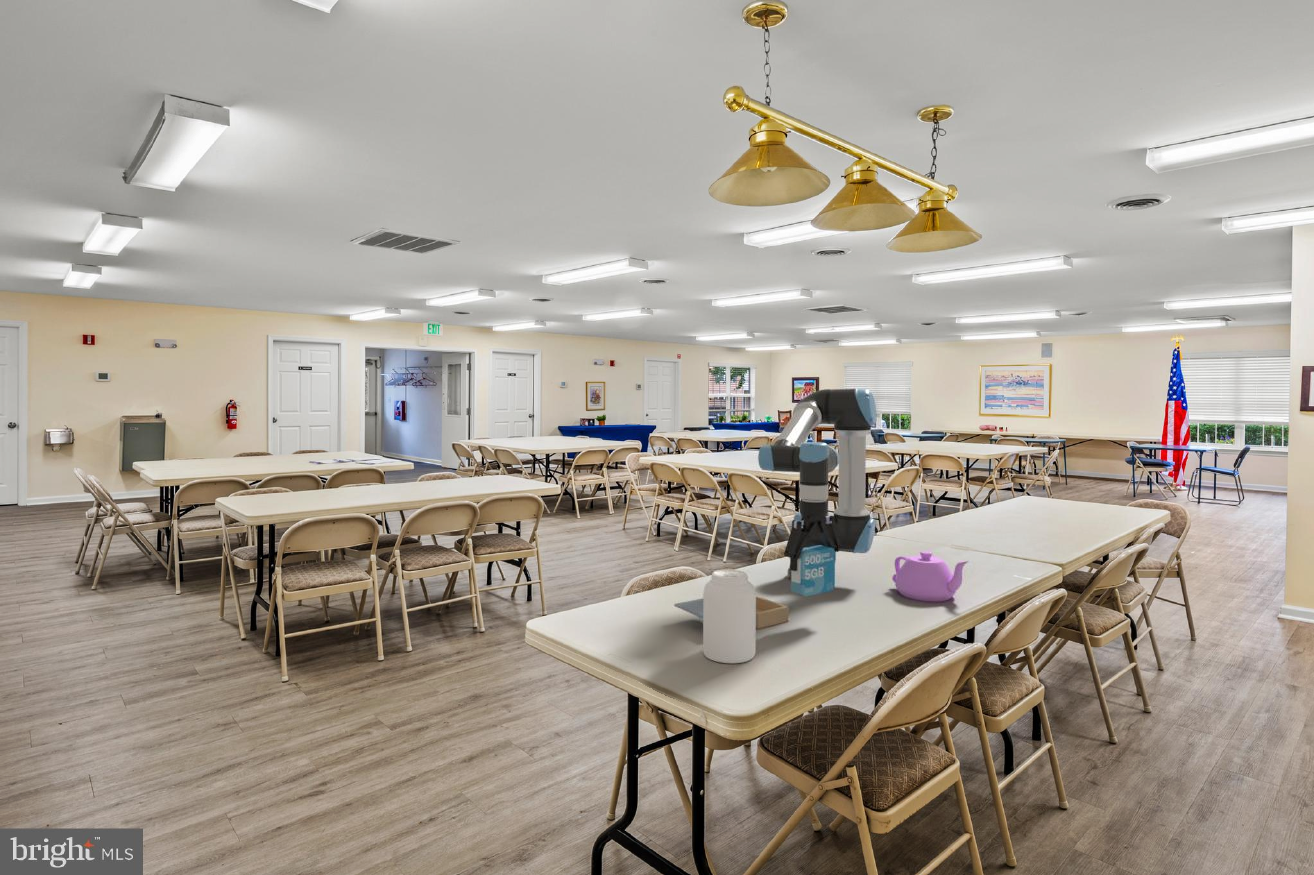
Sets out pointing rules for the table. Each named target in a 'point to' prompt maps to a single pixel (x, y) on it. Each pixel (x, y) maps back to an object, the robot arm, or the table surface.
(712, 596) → the white bottle
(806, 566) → the data package
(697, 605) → the lid
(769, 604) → the light brown shallow tray
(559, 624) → the table surface
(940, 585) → the teapot
